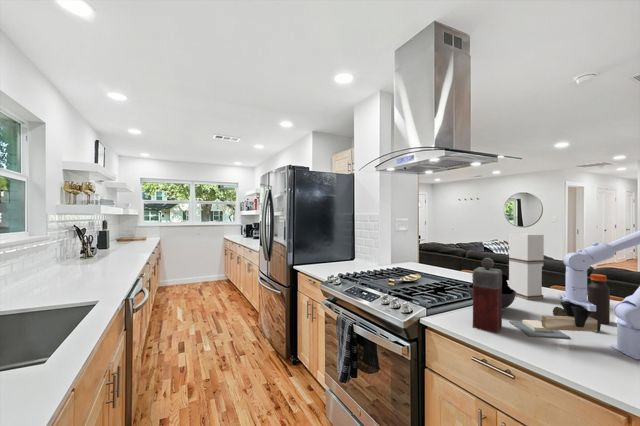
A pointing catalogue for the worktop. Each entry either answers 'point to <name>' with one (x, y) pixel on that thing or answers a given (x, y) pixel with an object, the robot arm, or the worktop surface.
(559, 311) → the brown wooden log
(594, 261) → the robot arm
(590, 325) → the tan wooden plank
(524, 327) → the mat
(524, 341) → the worktop surface
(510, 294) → the bowl of black rocks
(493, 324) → the pepper grinder
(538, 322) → the tile
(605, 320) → the bottle
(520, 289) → the banded white pillar
